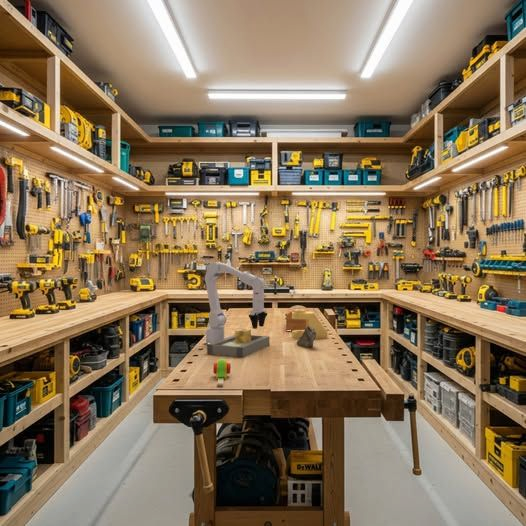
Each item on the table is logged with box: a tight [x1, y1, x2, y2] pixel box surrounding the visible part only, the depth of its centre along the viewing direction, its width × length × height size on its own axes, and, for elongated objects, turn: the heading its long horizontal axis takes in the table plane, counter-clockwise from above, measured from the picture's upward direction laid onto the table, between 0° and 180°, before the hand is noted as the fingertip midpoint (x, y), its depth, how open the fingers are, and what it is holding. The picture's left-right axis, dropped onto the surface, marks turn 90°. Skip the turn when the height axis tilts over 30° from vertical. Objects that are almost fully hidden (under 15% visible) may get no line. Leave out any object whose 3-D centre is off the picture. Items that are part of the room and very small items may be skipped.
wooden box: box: [284, 305, 310, 331], centre depth 267 cm, size 30×16×14 cm, turn 174°
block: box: [234, 328, 252, 344], centre depth 204 cm, size 6×6×6 cm
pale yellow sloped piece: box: [291, 309, 328, 339], centre depth 234 cm, size 20×9×16 cm, turn 93°
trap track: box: [206, 334, 270, 358], centre depth 201 cm, size 19×31×4 cm, turn 155°
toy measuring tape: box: [212, 358, 231, 388], centre depth 149 cm, size 6×20×7 cm, turn 2°
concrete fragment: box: [296, 325, 316, 349], centre depth 208 cm, size 6×19×11 cm, turn 30°
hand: (258, 327), depth 206 cm, fingers open, 7 cm apart
